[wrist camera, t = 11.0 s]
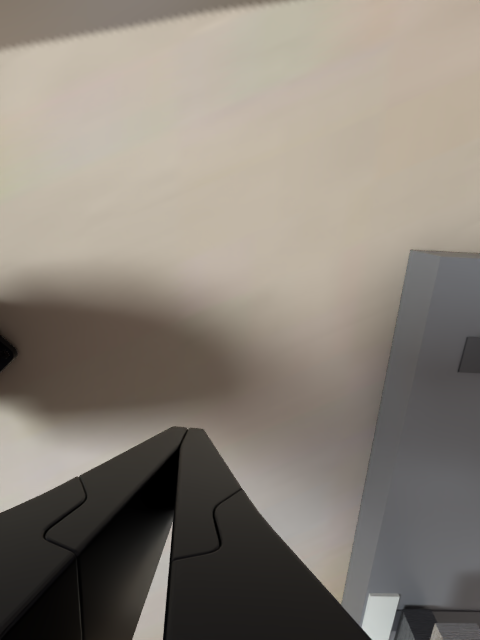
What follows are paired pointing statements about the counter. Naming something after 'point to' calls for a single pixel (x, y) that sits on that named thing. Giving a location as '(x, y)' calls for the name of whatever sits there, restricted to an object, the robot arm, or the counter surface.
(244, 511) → the robot arm
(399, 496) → the switch panel
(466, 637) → the switch
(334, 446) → the counter surface
